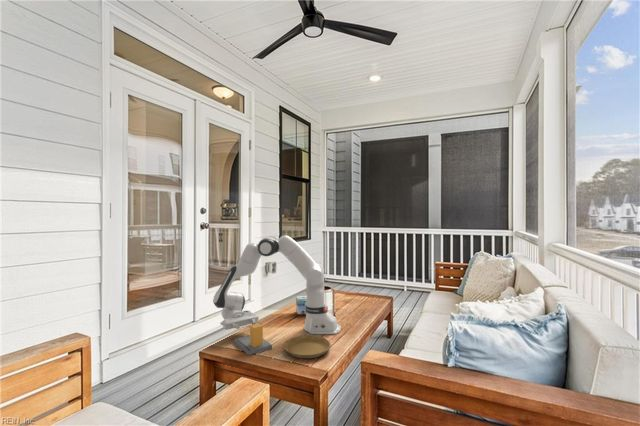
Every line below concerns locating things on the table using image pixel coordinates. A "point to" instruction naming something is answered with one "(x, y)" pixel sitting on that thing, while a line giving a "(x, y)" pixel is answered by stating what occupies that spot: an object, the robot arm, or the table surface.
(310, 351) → the plant saucer
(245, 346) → the plate
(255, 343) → the tall orange brick
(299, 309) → the light bulb box
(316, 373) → the table surface
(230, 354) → the table surface
